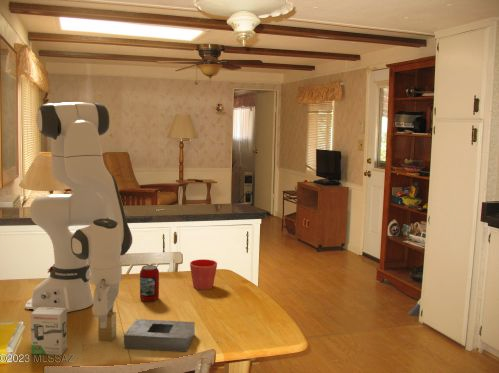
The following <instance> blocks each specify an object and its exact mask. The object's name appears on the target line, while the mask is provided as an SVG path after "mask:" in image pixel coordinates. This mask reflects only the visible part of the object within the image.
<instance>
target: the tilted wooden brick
mask: <svg viewBox="0 0 499 373" xmlns="http://www.w3.org/2000/svg"><path fill="white" fill-rule="evenodd" d="M97 326H98V327H97V328H98V329H97V330H98V331H97V332H98V333H97V334H98V336H97V338H98V342H105V343H106V342H108V343H109V342H110V343H112V342H113V341H114V340H115V339H116V337H117V312H116V311H113V312H108V314H107V326H106V328H100V321H99V318H98V317H97Z"/></svg>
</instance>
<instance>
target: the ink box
mask: <svg viewBox="0 0 499 373" xmlns="http://www.w3.org/2000/svg"><path fill="white" fill-rule="evenodd" d="M67 314H68V312H67V309H66V308H53V307H38V308H36V309H35V310H32V312H31V313H30V354H31V355H49V356H50V355H52V356H53V355H54V356H57V355H58V356H61V355H62V354H63V353H64V352H65V351H66V350H67V349H68V324H67V323H68V320H67V319H68V315H67Z"/></svg>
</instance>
